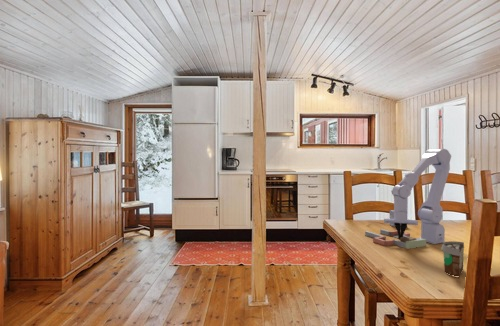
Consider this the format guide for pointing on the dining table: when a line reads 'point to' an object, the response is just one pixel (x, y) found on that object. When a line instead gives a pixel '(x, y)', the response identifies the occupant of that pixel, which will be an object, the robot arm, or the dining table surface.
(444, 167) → the robot arm
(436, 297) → the dining table surface
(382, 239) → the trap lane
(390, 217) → the medicine box
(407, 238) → the walnut block
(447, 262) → the food container
